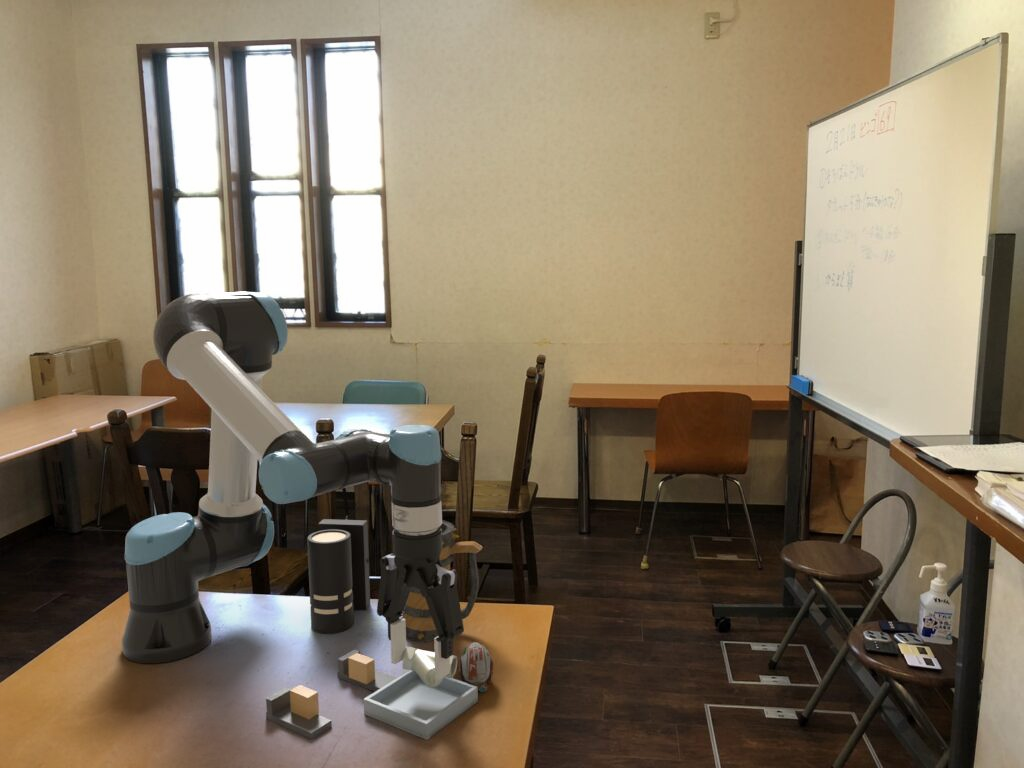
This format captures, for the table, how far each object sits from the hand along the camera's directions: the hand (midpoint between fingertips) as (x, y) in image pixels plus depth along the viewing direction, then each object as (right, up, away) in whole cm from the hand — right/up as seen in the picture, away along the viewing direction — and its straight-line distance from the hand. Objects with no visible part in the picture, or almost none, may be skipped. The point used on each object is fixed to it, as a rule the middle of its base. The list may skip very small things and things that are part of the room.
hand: (420, 667), depth 128 cm
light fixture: (-20, -2, +33) cm, 39 cm away
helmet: (+8, -6, +8) cm, 13 cm away
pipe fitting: (+1, -2, +1) cm, 3 cm away
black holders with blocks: (-14, -6, +3) cm, 16 cm away
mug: (0, -3, +28) cm, 28 cm away
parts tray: (0, -7, +1) cm, 7 cm away
